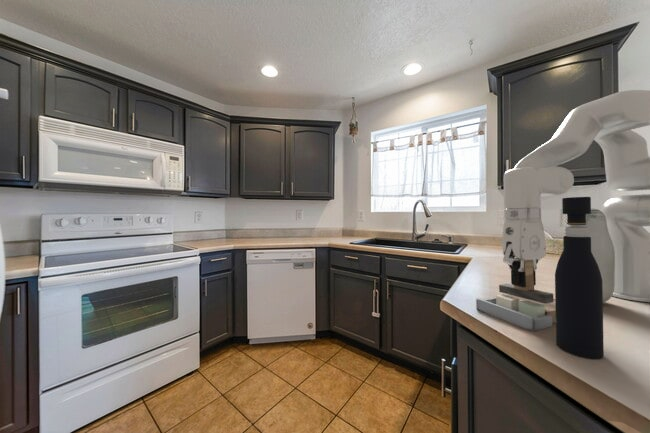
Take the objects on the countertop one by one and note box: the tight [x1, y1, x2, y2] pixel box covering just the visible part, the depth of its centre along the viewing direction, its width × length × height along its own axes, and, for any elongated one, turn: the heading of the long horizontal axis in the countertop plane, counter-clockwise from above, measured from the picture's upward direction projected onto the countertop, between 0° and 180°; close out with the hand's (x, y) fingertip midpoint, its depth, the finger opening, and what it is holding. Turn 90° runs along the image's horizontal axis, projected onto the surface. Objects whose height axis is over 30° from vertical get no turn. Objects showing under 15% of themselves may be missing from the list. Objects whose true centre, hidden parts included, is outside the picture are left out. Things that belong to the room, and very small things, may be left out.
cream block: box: [495, 293, 519, 312], centre depth 65 cm, size 4×4×3 cm
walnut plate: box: [507, 294, 556, 324], centre depth 66 cm, size 12×12×3 cm
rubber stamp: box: [498, 258, 555, 304], centre depth 63 cm, size 11×3×10 cm, turn 18°
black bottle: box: [554, 196, 605, 360], centre depth 47 cm, size 6×6×30 cm
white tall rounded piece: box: [562, 207, 615, 303], centre depth 72 cm, size 10×10×28 cm
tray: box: [475, 297, 553, 332], centre depth 63 cm, size 7×14×3 cm, turn 19°
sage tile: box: [519, 300, 545, 318], centre depth 60 cm, size 4×4×3 cm
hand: (523, 284), depth 63 cm, fingers closed on rubber stamp, 3 cm apart
